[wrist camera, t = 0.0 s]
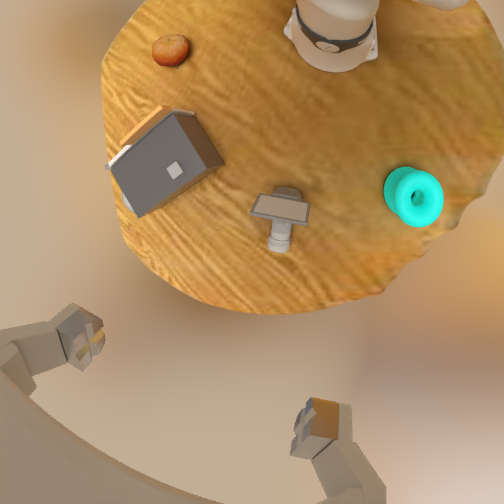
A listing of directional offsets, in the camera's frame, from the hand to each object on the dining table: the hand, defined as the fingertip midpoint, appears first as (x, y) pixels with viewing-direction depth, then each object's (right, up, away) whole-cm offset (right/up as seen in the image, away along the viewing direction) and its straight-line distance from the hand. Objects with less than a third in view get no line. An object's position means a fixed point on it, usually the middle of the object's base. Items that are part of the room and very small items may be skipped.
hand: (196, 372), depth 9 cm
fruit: (-14, +47, +37) cm, 62 cm away
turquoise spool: (+33, +17, +39) cm, 53 cm away
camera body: (-15, +23, +47) cm, 55 cm away
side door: (-18, +29, +45) cm, 56 cm away
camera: (+9, +12, +47) cm, 49 cm away
